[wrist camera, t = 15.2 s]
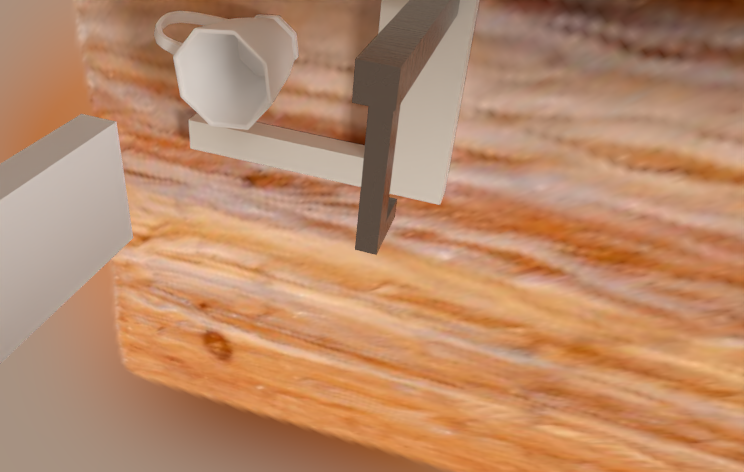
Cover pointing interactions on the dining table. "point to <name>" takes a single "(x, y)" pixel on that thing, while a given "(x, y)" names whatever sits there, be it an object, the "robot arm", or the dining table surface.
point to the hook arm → (391, 103)
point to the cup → (230, 64)
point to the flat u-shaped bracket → (345, 159)
